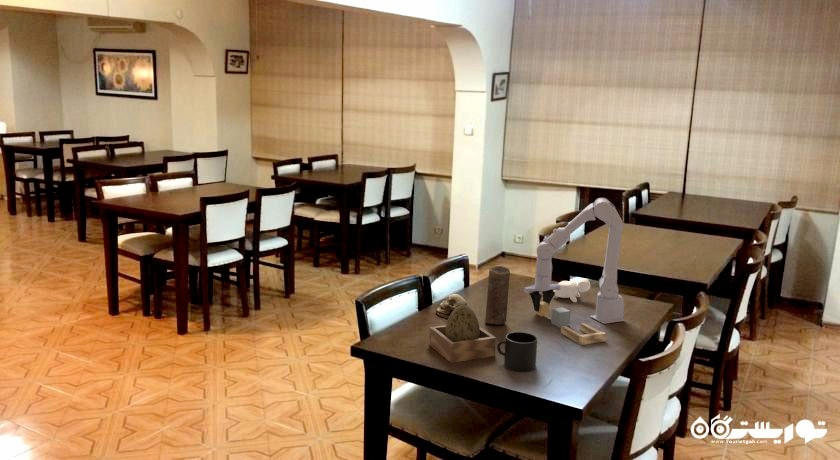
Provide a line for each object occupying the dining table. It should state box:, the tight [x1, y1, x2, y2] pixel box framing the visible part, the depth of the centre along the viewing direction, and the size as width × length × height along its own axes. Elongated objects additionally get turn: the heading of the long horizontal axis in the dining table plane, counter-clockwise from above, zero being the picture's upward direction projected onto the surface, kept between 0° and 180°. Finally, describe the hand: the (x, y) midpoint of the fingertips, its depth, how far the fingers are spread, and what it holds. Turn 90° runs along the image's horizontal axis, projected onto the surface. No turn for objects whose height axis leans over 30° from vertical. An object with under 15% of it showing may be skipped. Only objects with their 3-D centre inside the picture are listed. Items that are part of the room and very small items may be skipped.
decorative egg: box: [445, 304, 481, 342], centre depth 220 cm, size 11×11×15 cm
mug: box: [496, 331, 538, 373], centre depth 211 cm, size 9×12×9 cm
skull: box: [435, 293, 468, 319], centre depth 256 cm, size 12×10×10 cm
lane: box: [560, 323, 607, 346], centre depth 236 cm, size 10×12×3 cm
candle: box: [484, 265, 511, 326], centre depth 245 cm, size 8×7×20 cm
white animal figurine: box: [552, 278, 592, 303], centre depth 277 cm, size 9×8×15 cm
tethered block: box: [535, 300, 572, 328], centre depth 252 cm, size 4×15×6 cm, turn 24°
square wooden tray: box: [428, 324, 497, 364], centre depth 221 cm, size 15×15×6 cm
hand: (540, 310), depth 259 cm, fingers closed on tethered block, 3 cm apart
